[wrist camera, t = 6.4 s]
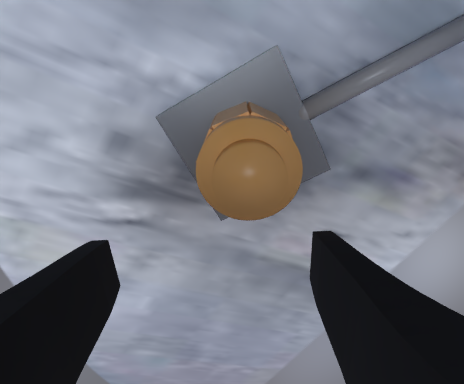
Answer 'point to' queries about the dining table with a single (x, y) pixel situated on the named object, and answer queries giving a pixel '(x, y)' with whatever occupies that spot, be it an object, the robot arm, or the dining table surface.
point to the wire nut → (248, 163)
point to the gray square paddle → (290, 97)
